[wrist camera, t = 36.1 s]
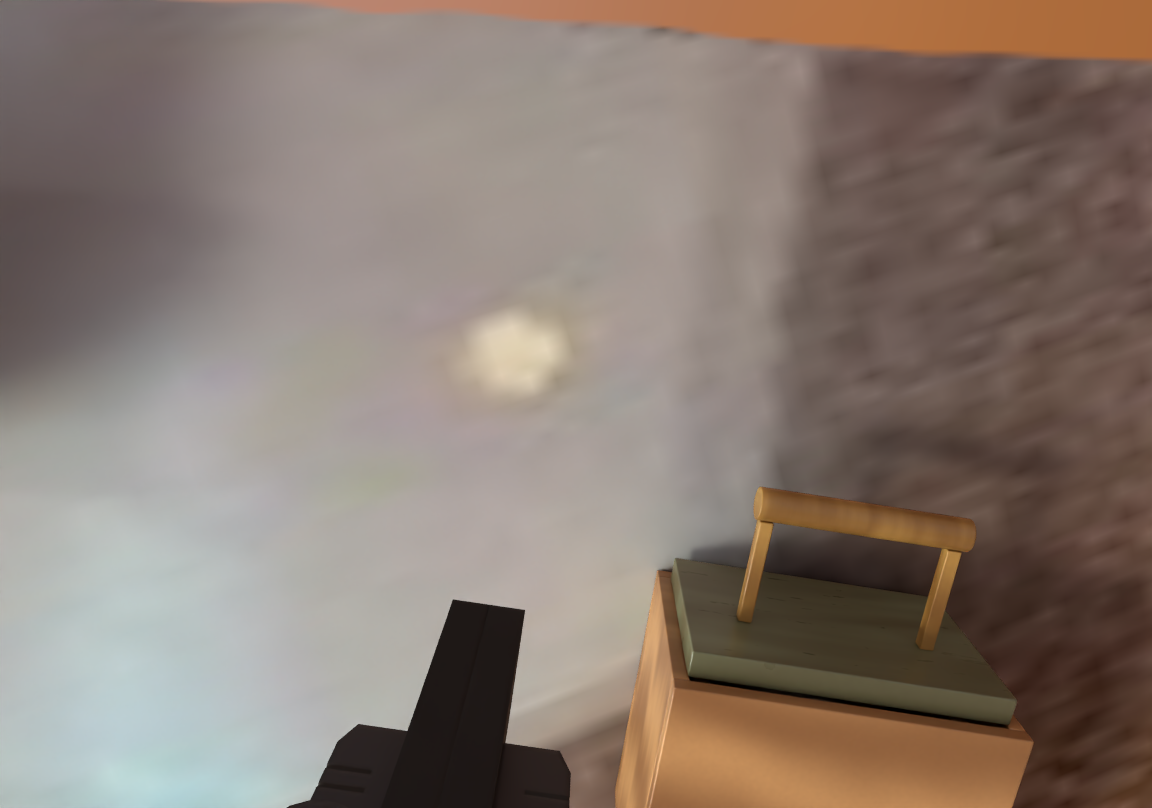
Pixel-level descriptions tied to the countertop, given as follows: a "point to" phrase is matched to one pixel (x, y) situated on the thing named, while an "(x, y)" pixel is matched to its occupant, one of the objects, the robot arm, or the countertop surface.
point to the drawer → (839, 620)
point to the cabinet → (796, 744)
